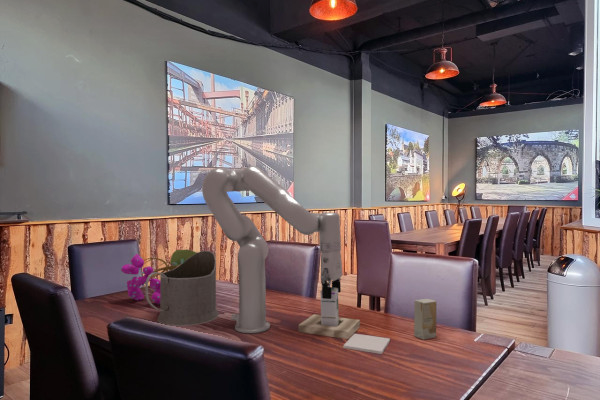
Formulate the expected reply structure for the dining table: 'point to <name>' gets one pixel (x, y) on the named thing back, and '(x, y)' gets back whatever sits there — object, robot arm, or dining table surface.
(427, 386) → the dining table surface
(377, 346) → the plate
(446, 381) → the dining table surface
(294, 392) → the dining table surface
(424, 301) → the skincare box
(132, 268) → the purple flowering plant
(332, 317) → the syrup box
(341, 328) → the frame
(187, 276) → the pitcher
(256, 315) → the robot arm
